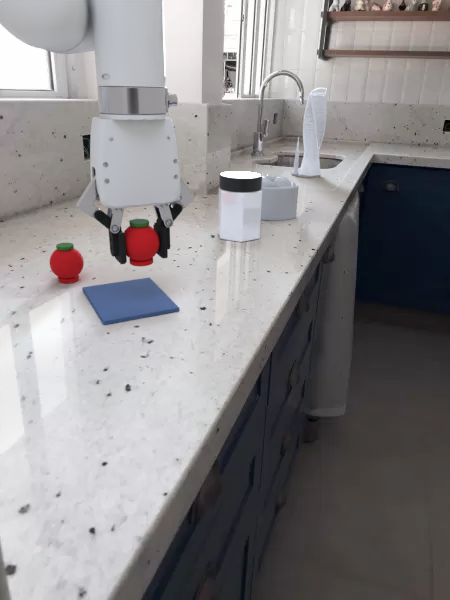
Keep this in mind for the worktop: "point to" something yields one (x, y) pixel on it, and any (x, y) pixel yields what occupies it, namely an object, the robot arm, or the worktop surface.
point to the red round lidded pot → (141, 242)
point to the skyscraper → (312, 135)
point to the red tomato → (66, 263)
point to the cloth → (128, 300)
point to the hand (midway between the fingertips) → (141, 256)
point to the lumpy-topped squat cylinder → (278, 198)
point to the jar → (239, 206)
